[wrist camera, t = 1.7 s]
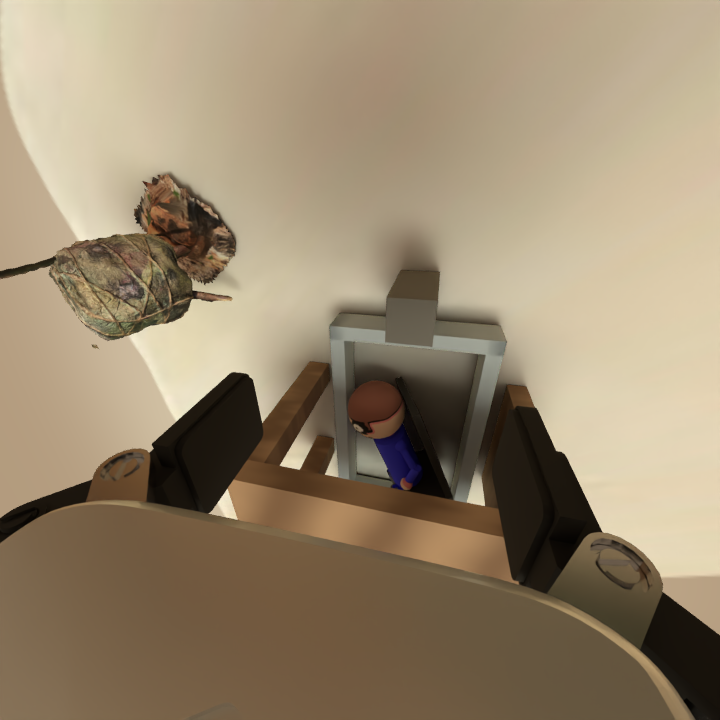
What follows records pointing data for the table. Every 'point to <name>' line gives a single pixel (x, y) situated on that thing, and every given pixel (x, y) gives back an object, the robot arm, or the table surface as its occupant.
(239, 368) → the table surface
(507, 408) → the small wooden table
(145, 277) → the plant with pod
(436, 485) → the character figurine
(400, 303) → the sled
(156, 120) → the table surface
